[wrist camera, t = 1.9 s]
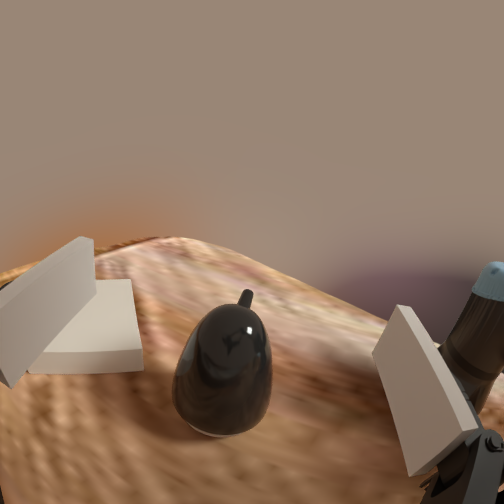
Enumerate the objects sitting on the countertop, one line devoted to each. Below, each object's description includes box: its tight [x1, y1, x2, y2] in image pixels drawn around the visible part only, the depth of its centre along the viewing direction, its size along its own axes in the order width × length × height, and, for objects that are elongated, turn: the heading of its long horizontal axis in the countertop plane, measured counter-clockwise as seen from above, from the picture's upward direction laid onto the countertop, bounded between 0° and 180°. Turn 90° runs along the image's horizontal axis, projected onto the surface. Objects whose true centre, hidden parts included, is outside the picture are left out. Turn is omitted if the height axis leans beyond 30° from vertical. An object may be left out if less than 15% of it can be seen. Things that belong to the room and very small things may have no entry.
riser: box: [28, 279, 144, 374], centre depth 34 cm, size 16×16×4 cm
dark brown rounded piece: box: [172, 289, 273, 437], centre depth 26 cm, size 10×10×15 cm
